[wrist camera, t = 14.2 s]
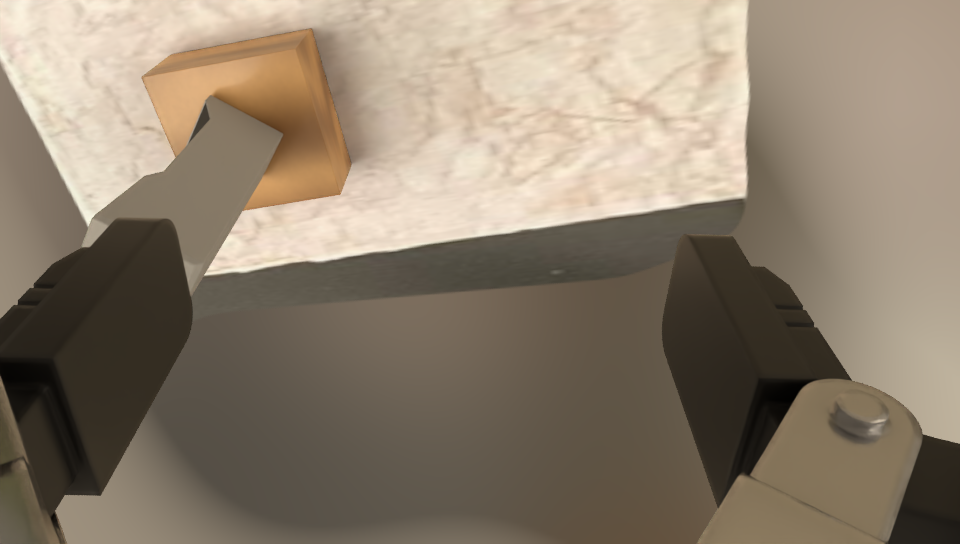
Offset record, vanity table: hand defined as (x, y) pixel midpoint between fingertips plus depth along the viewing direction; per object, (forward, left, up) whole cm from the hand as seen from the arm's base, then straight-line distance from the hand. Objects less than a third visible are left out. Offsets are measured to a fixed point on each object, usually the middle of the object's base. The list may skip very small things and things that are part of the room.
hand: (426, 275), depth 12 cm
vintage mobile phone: (+12, -15, -35) cm, 40 cm away
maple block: (+12, -14, -40) cm, 44 cm away
